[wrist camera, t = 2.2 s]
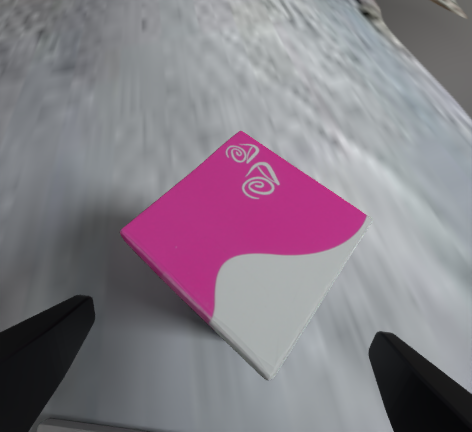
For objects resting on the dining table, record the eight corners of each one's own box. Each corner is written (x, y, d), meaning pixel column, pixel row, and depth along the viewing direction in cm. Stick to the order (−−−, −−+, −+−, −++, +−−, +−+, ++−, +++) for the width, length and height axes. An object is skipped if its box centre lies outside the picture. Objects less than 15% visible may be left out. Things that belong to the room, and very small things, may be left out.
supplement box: (289, 279, 17) (385, 220, 7) (238, 346, 16) (266, 405, 5) (232, 230, 19) (240, 121, 8) (178, 287, 17) (103, 237, 6)
